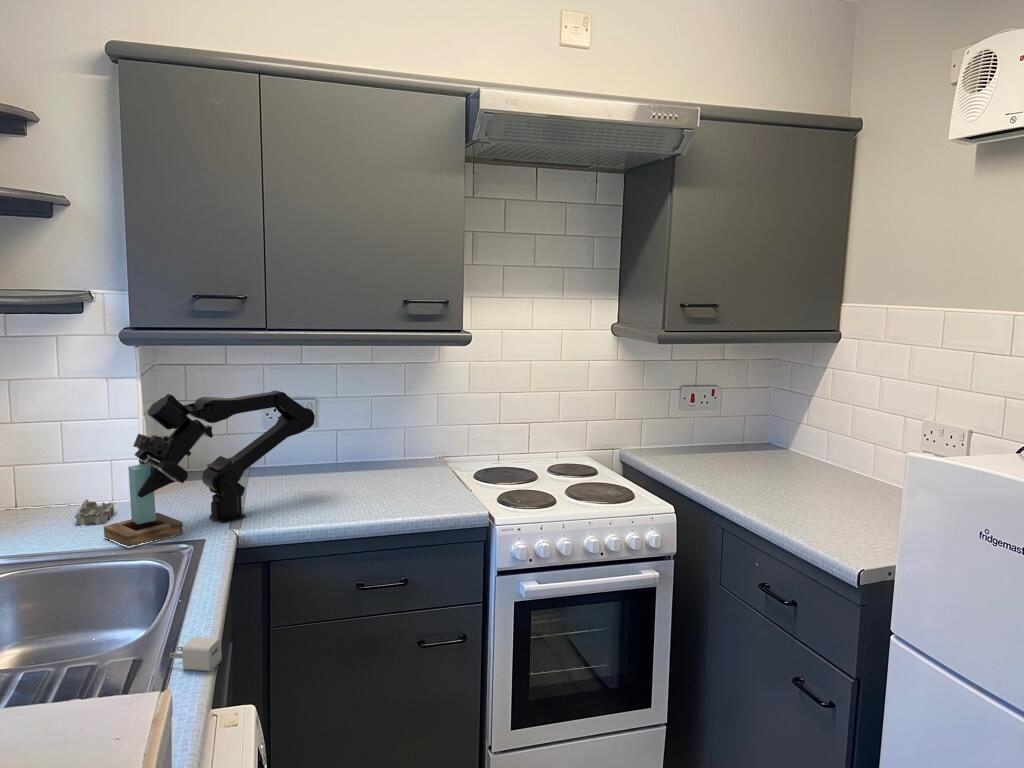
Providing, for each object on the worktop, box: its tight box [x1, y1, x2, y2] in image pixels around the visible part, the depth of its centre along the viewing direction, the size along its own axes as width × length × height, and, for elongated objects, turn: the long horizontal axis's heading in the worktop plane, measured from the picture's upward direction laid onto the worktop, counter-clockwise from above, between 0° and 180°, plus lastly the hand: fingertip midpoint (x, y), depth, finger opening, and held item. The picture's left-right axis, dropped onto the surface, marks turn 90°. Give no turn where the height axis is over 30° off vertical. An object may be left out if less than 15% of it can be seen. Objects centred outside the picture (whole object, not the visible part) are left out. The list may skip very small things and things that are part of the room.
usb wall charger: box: [169, 636, 223, 672], centre depth 117 cm, size 4×7×4 cm, turn 85°
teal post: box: [127, 464, 156, 524], centre depth 171 cm, size 4×4×13 cm
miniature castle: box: [74, 498, 116, 526], centre depth 184 cm, size 11×8×4 cm
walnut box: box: [103, 512, 184, 546], centre depth 173 cm, size 13×11×3 cm
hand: (135, 494), depth 170 cm, fingers closed on teal post, 4 cm apart
